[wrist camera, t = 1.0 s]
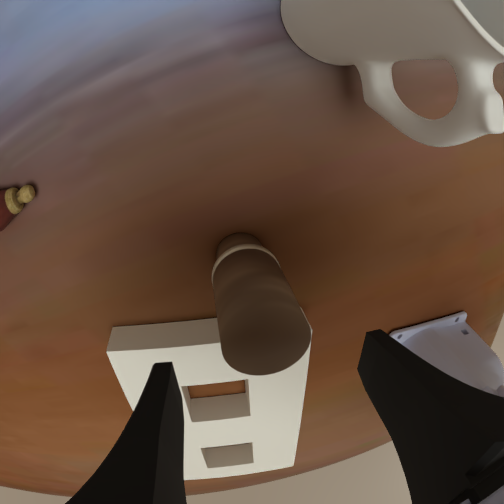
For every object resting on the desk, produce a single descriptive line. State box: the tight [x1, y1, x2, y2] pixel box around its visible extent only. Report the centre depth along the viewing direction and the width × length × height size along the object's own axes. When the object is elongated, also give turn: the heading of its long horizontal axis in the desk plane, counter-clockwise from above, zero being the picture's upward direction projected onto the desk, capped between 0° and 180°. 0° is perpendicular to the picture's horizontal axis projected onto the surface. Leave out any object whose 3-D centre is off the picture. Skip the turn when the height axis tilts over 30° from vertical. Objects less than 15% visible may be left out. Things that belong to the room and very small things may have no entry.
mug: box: [281, 0, 504, 147], centre depth 9 cm, size 10×7×12 cm, turn 10°
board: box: [106, 307, 312, 480], centre depth 24 cm, size 13×20×2 cm, turn 2°
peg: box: [212, 233, 311, 376], centre depth 16 cm, size 4×4×8 cm
